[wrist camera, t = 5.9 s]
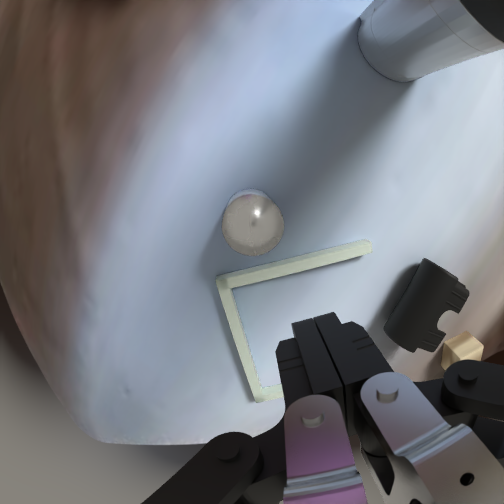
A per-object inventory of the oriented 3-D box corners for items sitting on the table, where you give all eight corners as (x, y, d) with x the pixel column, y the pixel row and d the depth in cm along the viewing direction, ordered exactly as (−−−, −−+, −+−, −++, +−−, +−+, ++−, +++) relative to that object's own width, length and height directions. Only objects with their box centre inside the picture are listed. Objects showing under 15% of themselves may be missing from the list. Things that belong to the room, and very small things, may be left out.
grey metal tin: (220, 195, 30) (214, 203, 23) (268, 183, 30) (276, 188, 23) (232, 241, 31) (230, 262, 25) (279, 229, 31) (289, 247, 25)
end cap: (412, 250, 33) (443, 268, 26) (445, 271, 34) (475, 290, 27) (373, 319, 35) (396, 347, 29) (409, 333, 36) (432, 360, 30)
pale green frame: (216, 275, 32) (215, 281, 31) (366, 238, 32) (371, 242, 31) (255, 395, 38) (255, 402, 36) (374, 363, 37) (378, 369, 36)
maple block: (443, 341, 37) (460, 358, 32) (466, 330, 37) (483, 345, 32) (440, 365, 39) (455, 382, 34) (462, 354, 39) (477, 369, 34)
